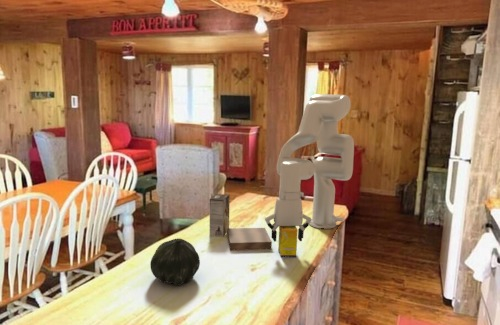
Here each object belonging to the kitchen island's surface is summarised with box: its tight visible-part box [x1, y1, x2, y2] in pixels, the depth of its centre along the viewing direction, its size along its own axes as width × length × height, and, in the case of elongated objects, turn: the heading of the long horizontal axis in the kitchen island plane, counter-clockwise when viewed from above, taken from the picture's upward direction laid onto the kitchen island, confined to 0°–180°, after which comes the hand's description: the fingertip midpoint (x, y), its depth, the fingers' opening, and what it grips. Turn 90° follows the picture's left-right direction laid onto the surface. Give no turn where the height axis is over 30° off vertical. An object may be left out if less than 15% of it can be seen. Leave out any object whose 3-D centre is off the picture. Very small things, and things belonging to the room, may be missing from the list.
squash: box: [150, 238, 201, 286], centre depth 123 cm, size 14×15×15 cm
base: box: [226, 227, 273, 251], centre depth 157 cm, size 16×16×3 cm
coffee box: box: [209, 193, 230, 238], centre depth 165 cm, size 9×6×16 cm
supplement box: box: [278, 226, 299, 258], centre depth 145 cm, size 6×6×11 cm
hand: (287, 240), depth 145 cm, fingers open, 9 cm apart
